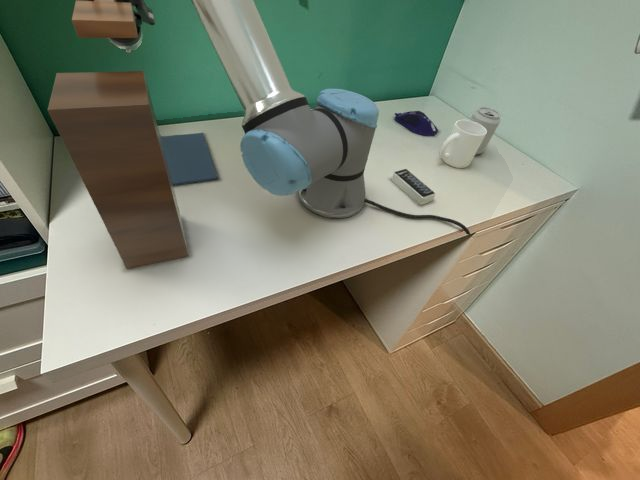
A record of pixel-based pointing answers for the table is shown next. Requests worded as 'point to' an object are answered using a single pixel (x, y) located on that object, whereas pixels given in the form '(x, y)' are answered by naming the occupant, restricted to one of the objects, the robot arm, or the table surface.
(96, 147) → the plinth
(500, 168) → the table surface
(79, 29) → the paddle
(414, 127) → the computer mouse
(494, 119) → the can
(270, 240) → the table surface
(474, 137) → the mug
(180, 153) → the mat
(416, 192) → the multiport hub
